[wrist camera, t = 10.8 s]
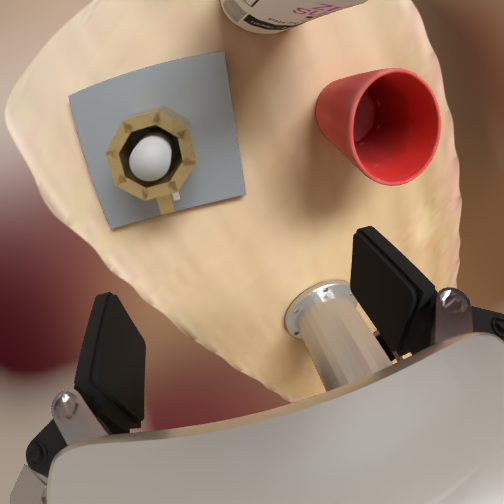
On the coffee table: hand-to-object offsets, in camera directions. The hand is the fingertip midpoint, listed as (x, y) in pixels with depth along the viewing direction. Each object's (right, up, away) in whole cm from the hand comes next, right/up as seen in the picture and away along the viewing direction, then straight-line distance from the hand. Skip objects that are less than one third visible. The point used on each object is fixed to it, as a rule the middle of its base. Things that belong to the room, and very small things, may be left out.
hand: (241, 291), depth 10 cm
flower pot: (+11, +17, +17) cm, 26 cm away
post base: (-9, +12, +14) cm, 21 cm away
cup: (-8, +11, +14) cm, 20 cm away
